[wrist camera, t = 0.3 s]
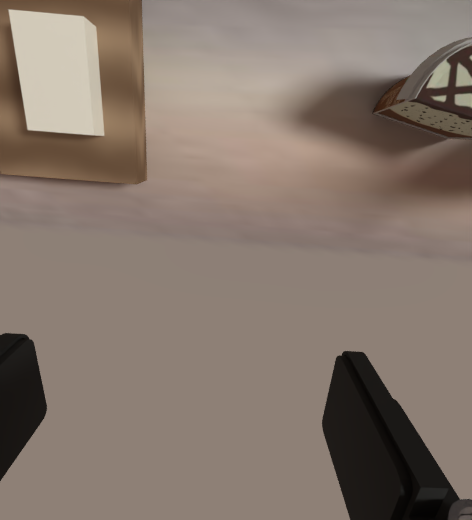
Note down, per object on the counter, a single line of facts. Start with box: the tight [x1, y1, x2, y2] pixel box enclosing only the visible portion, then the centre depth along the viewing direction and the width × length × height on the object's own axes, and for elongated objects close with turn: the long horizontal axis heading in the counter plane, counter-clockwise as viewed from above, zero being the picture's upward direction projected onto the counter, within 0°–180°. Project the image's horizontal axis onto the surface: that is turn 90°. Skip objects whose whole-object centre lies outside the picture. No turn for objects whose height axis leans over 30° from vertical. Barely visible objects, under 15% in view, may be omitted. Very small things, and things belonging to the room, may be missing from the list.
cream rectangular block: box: [8, 9, 104, 136], centre depth 27 cm, size 9×6×2 cm, turn 176°
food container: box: [373, 37, 472, 140], centre depth 28 cm, size 12×6×10 cm, turn 74°
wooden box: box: [0, 0, 147, 184], centre depth 30 cm, size 18×14×4 cm
